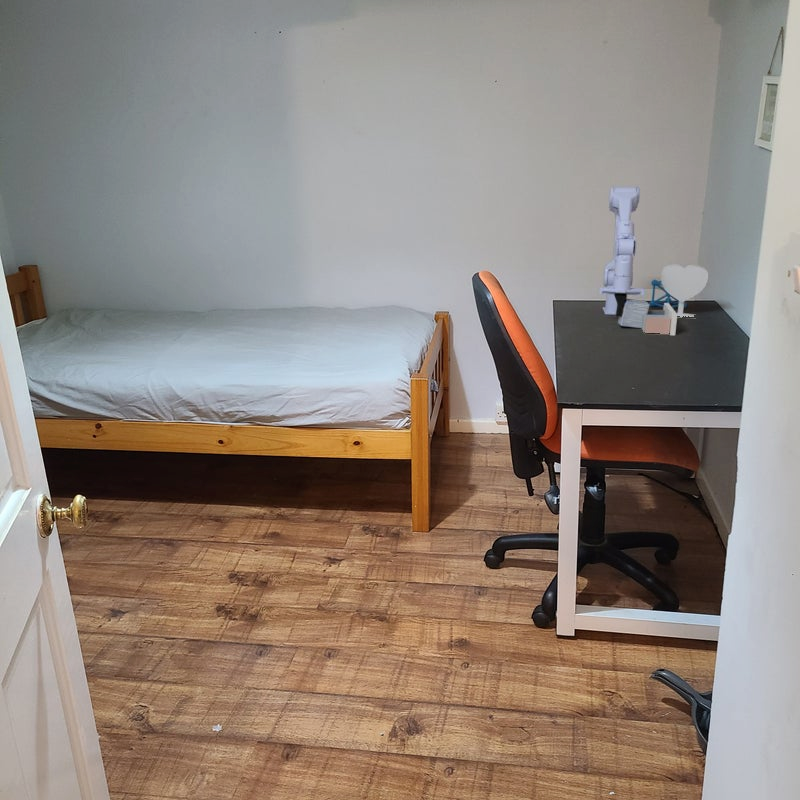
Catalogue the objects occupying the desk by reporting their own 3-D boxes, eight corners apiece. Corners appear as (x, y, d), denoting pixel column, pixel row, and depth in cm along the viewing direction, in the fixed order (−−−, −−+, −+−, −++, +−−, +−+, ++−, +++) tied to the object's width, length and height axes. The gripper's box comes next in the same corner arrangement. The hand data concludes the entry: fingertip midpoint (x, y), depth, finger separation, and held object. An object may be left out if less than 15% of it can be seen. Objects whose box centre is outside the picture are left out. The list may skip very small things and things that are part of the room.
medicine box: (639, 325, 274) (645, 300, 271) (643, 329, 270) (650, 303, 267) (617, 322, 273) (623, 297, 270) (620, 326, 269) (626, 300, 266)
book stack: (637, 321, 278) (639, 301, 276) (665, 322, 277) (667, 302, 275) (644, 334, 263) (646, 313, 260) (675, 335, 261) (677, 314, 259)
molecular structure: (668, 302, 304) (670, 276, 301) (687, 308, 296) (690, 281, 292) (647, 306, 300) (650, 279, 297) (667, 311, 292) (669, 284, 288)
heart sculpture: (702, 315, 286) (708, 264, 280) (703, 318, 281) (709, 267, 275) (657, 312, 290) (661, 262, 284) (657, 316, 286) (661, 265, 279)
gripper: (601, 276, 264) (598, 317, 268) (647, 277, 262) (643, 319, 266) (599, 273, 270) (596, 313, 274) (644, 274, 268) (640, 315, 272)
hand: (619, 316), depth 270 cm, fingers closed, pressing on medicine box
